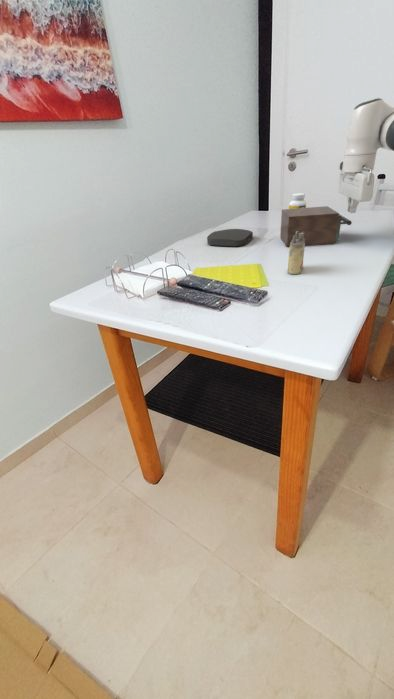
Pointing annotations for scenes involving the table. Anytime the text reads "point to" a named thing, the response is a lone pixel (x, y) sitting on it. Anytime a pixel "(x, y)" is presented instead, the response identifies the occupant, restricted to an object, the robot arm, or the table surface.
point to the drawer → (345, 221)
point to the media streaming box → (230, 237)
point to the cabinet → (310, 225)
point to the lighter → (296, 253)
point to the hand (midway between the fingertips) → (351, 212)
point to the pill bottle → (297, 201)
